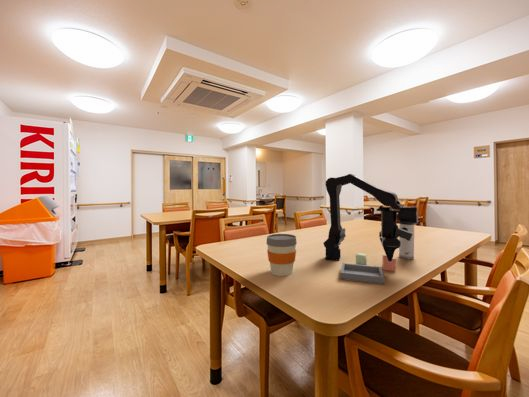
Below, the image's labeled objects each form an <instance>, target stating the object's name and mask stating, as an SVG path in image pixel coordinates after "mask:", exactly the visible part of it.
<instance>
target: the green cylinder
mask: <svg viewBox="0 0 529 397" xmlns="http://www.w3.org/2000/svg"><path fill="white" fill-rule="evenodd" d="M367 258H368V257H367V254H366V253H360V252H359V253H355V264H358V265H367V262H368V261H367Z"/></svg>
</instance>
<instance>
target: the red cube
mask: <svg viewBox="0 0 529 397" xmlns="http://www.w3.org/2000/svg"><path fill="white" fill-rule="evenodd" d="M381 263H382V266H381V267H382V271H393V272H396V271H397V270H396V266H397V265H396V258H395V256H394V255H393V258H392V261H388V258H387V256H386V254H385V255H383V254H382V262H381Z"/></svg>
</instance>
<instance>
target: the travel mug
mask: <svg viewBox="0 0 529 397" xmlns="http://www.w3.org/2000/svg"><path fill="white" fill-rule="evenodd" d="M402 227H405V228H407V229H408V231H409V232H411V233H412V234H413V235H412V237H411V239H410V241H408V240H406V239H404V238H401V237H399V236H398V239H399V241H400V242H401V245H400V247H399V248H398V257H399V258H401V259H403V260H412V259H414V258H415V224H413V223H401V221H399V225H398V228H402Z"/></svg>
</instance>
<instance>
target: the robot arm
mask: <svg viewBox="0 0 529 397" xmlns="http://www.w3.org/2000/svg"><path fill="white" fill-rule="evenodd" d="M349 184H351V185H353V186H355V187H357V188H358V189H360V190H362V191H363V192H366V193H367V194H369V195H371V196H373V198H375V200H376V201H378V202H379V203H380V204H382V205H380V206H379V207H378V208H376V211H377V212H381V223H380V227H381V230H380V231H379V234H378V238H379V241H380V243H381V245H382V248H383V251H384V254H385V256H387V258H388V261H392V258H393V256H394V254H395V251H396V250H397V249H399V247H400V245H401V242H400V241H399V237H401V238H404V239H406V240H408V241H410V239H411V237H412V235H413V234H412V233H411V232H409V231H408V229H407V228H405V227H402V228H399V225H398V223H397V220H398V221H399V222H400V221H401V223H413V224H414V225H415V224H419V213H418V206H403V205H402V203H401V201H399V198H398V194H396V193H395V192H392V191H389V190H386V189H383V188H379V187H377V186H376V185H374V184H372V183H369V182H368V181H366V180H364V179H362V178H360V177H359V176H356V174H353V173H347V174H346V175H342V176H338V177H329V178H327V179H326V180H325V187H326V192H327V194H328V196H329V213H330V215H329V216H330V228H329V229H328V230H329V231H328V237H327V239H326V240H325V241H324V242H323V247H324V248H325V257H324V259H325V260H329V261H340V259H341V255H342V254H341V248H340V245H342V244H341V243H342V242H344V241H345V237H347V236H346V228H343V227H342V225H341V208H340V207H341V204H340V203H341V202H340V195H341V192H342V187H343V186H346V185H349Z"/></svg>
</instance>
